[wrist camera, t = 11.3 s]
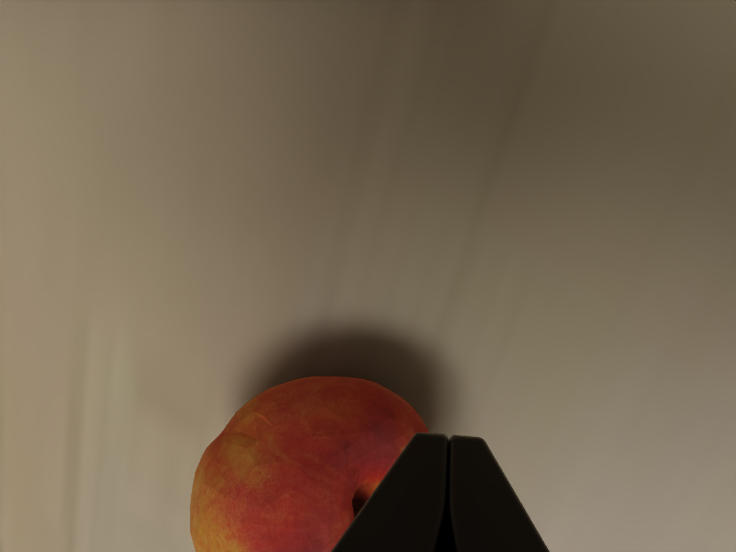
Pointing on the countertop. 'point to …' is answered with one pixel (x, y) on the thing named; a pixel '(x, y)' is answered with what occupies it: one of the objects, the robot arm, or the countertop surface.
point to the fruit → (298, 465)
